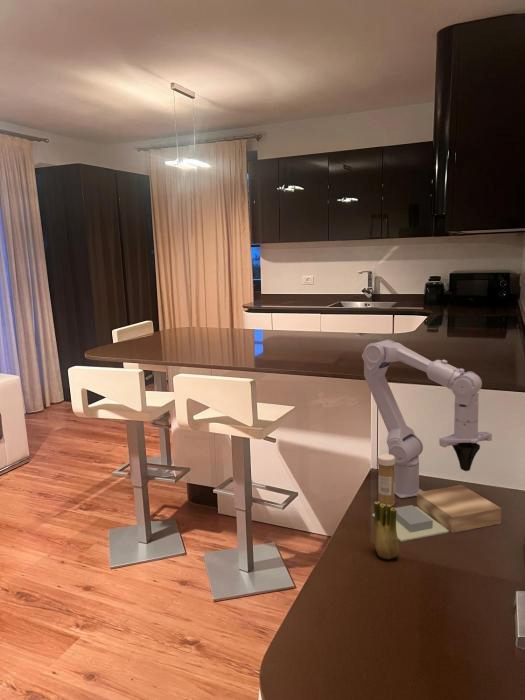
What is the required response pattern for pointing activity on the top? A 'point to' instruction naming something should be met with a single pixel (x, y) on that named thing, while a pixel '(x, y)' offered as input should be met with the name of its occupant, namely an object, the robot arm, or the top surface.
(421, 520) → the grey rectangular block
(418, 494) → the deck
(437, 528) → the mat
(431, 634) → the top surface
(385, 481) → the sprinkles bottle
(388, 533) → the fennel bulb
